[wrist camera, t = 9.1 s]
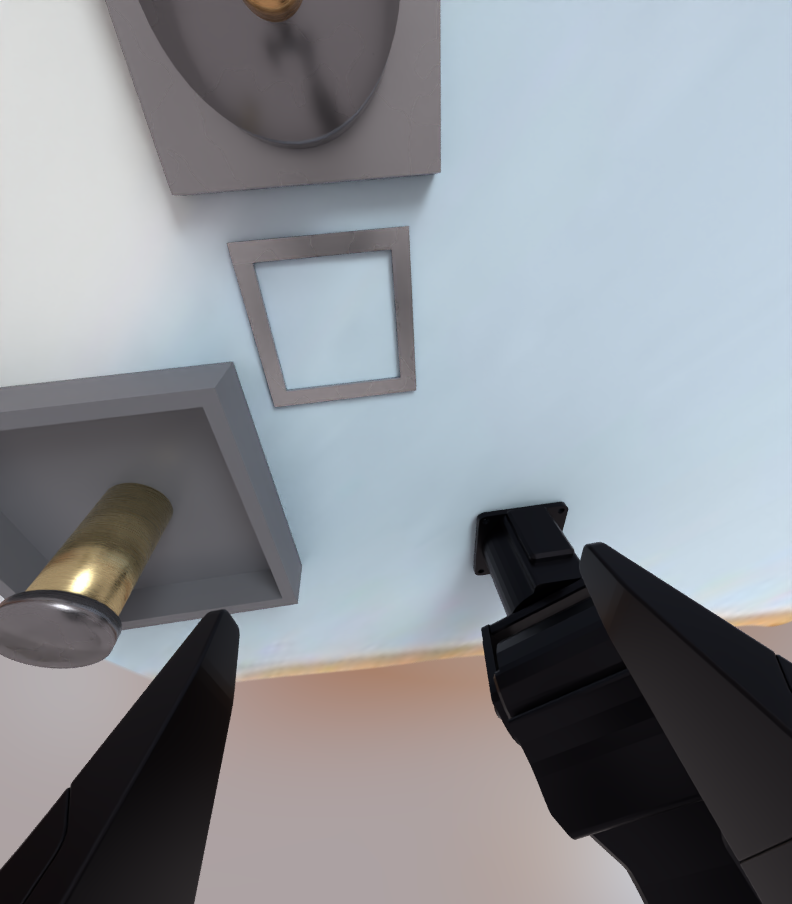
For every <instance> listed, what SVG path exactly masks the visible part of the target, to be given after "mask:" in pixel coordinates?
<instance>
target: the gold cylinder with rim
mask: <svg viewBox="0 0 792 904" xmlns="http://www.w3.org/2000/svg"><path fill="white" fill-rule="evenodd" d="M172 515H173V507H172V505H171V502H170V501H169V500H168V498H167V497H166V496H165V495H164V494H162V493H161V492H160V491H158V490H156V489H154V488H152V487H150V486H147V485H143V484H139V483H122V484H118V485H115V486H113V487H111V488H109V489H108V490H107V491H106V493H105V494H104V495H103V496H102V497H101V499H100V500H99V501H98V502H97V504H96V505H95V506H94V507H93V509H92V510H91V511H90V512H89V513H88V515H87V516H86V517H85V518H84V520H83V521H82V522H81V523H80V525H79V526H78V527H77V528H76V529H75V531H74V532H73V533H72V534H71V536H70V537H69V538H68V539H67V540H66V542H65V543H64V544H63V545H62V547H61V548H60V549H59V550H58V552H57V553H56V554H55V555H54V556H53V558H52V559H51V560H50V561H49V563H48V564H47V565H46V566H45V568H44V569H43V570H42V571H41V572H40V574H39V575H38V576H37V577H36V579H35V580H34V581H33V582H32V584H31V585H30V586H29V587H28V588H27V590H26V591H25V592H21V593H17V594H14V595H12V596H10V597H8V598H6V599H5V600H4V601H2V602H1V603H0V654H1V655H3V656H4V657H7V658H9V659H11V660H14V661H17V662H20V663H24V664H28V665H33V666H39V667H45V668H46V667H47V668H77V667H83V666H87V665H91V664H94V663H97V662H99V661H101V660H103V659H104V658H106V657H107V656H108V655H109V654H110V653H111V651H112V649H113V647H114V645H115V643H116V641H117V639H118V637H119V635H120V633H121V631H122V623H121V620H120V618H119V617H118V616H119V614H120V613H121V611H122V609H123V607H124V605H125V603H126V601H127V599H128V598H129V596H130V594H131V592H132V590H133V588H134V586H135V585H136V583H137V581H138V579H139V577H140V575H141V573H142V572H143V570H144V568H145V566H146V564H147V562H148V560H149V558H150V557H151V555H152V553H153V551H154V549H155V547H156V545H157V544H158V542H159V540H160V538H161V536H162V534H163V532H164V531H165V529H166V527H167V525H168V523H169V521H170V519H171V518H172Z"/></svg>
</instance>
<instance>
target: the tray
mask: <svg viewBox="0 0 792 904" xmlns="http://www.w3.org/2000/svg"><path fill="white" fill-rule="evenodd" d="M122 483H139V484H143V485H147V486H150V487H152V488H154V489H156V490H158V491H160V492H161V493H162V494H164V495H165V496H166V497H167V498H168V500H169V501H170V502H171V505H172V507H173V515H172V518H171V519H170V521H169V523H168V525H167V527H166V529H165V531H164V532H163V534H162V536H161V538H160V540H159V542H158V544H157V545H156V547H155V549H154V551H153V553H152V555H151V557H150V558H149V560H148V562H147V564H146V566H145V568H144V570H143V572H142V573H141V575H140V577H139V579H138V581H137V583H136V585H135V586H134V588H133V590H132V592H131V594H130V596H129V598H128V599H127V601H126V603H125V605H124V607H123V609H122V611H121V613H120V614H119V616H118V617H119V618H120V620H121V623H122V630H126V629H133V628H140V627H146V626H153V625H160V624H166V623H173V622H179V621H186V620H193V619H199V618H203V617H204V616H205V615H206V614H207V613H208V612H210V611H215V610H220V609H226V610H227V611H228V612H229V613H230V614H233V613H239V612H246V611H253V610H259V609H266V608H273V607H279V606H286V605H293V604H298V597H299V588H300V579H301V571H302V564H301V561H300V558H299V555H298V552H297V549H296V546H295V544H294V541H293V538H292V535H291V532H290V529H289V526H288V523H287V520H286V517H285V514H284V511H283V508H282V505H281V502H280V499H279V496H278V493H277V490H276V487H275V484H274V482H273V479H272V476H271V473H270V470H269V467H268V464H267V461H266V458H265V455H264V452H263V449H262V446H261V443H260V440H259V437H258V434H257V431H256V428H255V425H254V422H253V420H252V417H251V414H250V411H249V408H248V405H247V402H246V399H245V396H244V393H243V390H242V387H241V384H240V381H239V378H238V375H237V372H236V369H235V366H234V363H233V362H226V363H217V364H208V365H199V366H190V367H181V368H172V369H163V370H154V371H145V372H136V373H127V374H118V375H109V376H100V377H91V378H82V379H73V380H64V381H55V382H46V383H37V384H28V385H19V386H10V387H1V388H0V595H1V596H2V597H3V598H4V599H6V598H8V597H10V596H12V595H14V594H17V593H21V592H25V591H26V590H27V588H28V587H29V586H30V585H31V584H32V582H33V581H34V580H35V579H36V577H37V576H38V575H39V574H40V572H41V571H42V570H43V569H44V568H45V566H46V565H47V564H48V563H49V561H50V560H51V559H52V558H53V556H54V555H55V554H56V553H57V552H58V550H59V549H60V548H61V547H62V545H63V544H64V543H65V542H66V540H67V539H68V538H69V537H70V536H71V534H72V533H73V532H74V531H75V529H76V528H77V527H78V526H79V525H80V523H81V522H82V521H83V520H84V518H85V517H86V516H87V515H88V513H89V512H90V511H91V510H92V509H93V507H94V506H95V505H96V504H97V502H98V501H99V500H100V499H101V497H102V496H103V495H104V494H105V493H106V491H107V490H108V489H109V488H111V487H113V486H115V485H118V484H122Z"/></svg>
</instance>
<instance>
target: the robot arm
mask: <svg viewBox="0 0 792 904" xmlns="http://www.w3.org/2000/svg"><path fill="white" fill-rule="evenodd" d="M567 512H568V507H567V506H566V505H565V503H564V502H555V503H548V504H541V505H534V506H527V507H520V508H513V509H505V510H498V511H491V512H484V513H481V514H480V515H479V516H478V517H477V527H476V540H475V553H474V567H473V568H474V572H475V574H476V575H486V574H491V577H492V579H493V582H494V584H495V587H496V589H497V592H498V594H499V597H500V599H501V602H502V604H503V607H504V609H505V612H506V614H507V617H505V618H503V619H501V620H499V621H497V622H495V623H494V624H492V625H489V624H488V625H486V626H484V627H482V628H481V631H482V637H483V648H484V655H485V661H486V667H487V674H488V680H489V687H490V693H491V699H492V702H493V705H494V708H495V712H496V714H497V716H498V717H499V718H500V719H502V722H503V723H504V725H505V727H506V728H507V730H508V732H509V733H510V735H511V736H512V738H513V739H514V740H515V741H516V742H517V744H519V745H520V746H521V747H522V749H523V750H524V753H525V755H526V757H527V759H528V761H529V763H530V765H531V767H532V770H533V772H534V774H535V777H536V779H537V781H538V784H539V787H540V789H541V792H542V794H543V797H544V799H545V802H546V804H547V807H548V809H549V811H550V813H551V815H552V816H553V817H554V819H555V820H556V821H557V822H558V823H559V825H560V826H561V827H562V828H563V829H564V830H565V832H566V833H567V834H568V835H569V836H570V837H571V838H572V839H574V840H576V839H579V838H582V837H586V836H589V835H590V836H591V837H592V838H593V839H594V840H595V841H596V842H597V843H598V844H599V845H601V846H602V847H603V848H604V849H605V850H606V851H607V852H608V853H609V854H610V855H611V856H613V857H614V858H615V859H616V860H617V861H618V862H619V863H620V864H622V866H623V867H624V868H625V869H626V870H627V872H628V873H629V875H630V877H631V879H632V881H633V883H634V884H635V886H636V888H637V890H638V892H639V894H640V896H641V898H642V900H643V902H644V904H792V663H791V662H789V661H788V660H786V659H785V658H783V657H781V656H780V655H775V653H774V652H773V651H772V650H770V649H769V648H767V647H766V646H764V645H763V644H761V643H759V642H758V641H756V640H755V639H753V638H752V637H750V636H749V635H747V634H745V633H744V632H742V631H741V630H739V629H737V628H736V627H734V626H733V625H731V624H730V623H728V622H727V621H725V620H724V619H722V618H720V617H719V616H717V615H716V614H714V613H713V612H711V611H709V610H708V609H706V608H705V607H703V606H702V605H700V604H699V603H697V602H695V601H694V600H692V599H691V598H689V597H688V596H686V595H684V594H683V593H681V592H680V591H678V590H677V589H675V588H673V587H672V586H670V585H669V584H667V583H666V582H664V581H663V580H661V579H659V578H658V577H656V576H655V575H653V574H652V573H650V572H648V571H647V570H645V569H644V568H642V567H641V566H639V565H638V564H636V563H634V562H633V561H631V560H630V559H628V558H627V557H625V556H623V555H622V554H620V553H619V552H617V551H616V550H614V549H612V548H611V547H609V546H608V545H606V544H604V543H602V542H596V543H591V544H586V545H585V546H584V548H583V551H582V555H581V560H579V558H578V557H577V555H576V554H575V552H574V549H573V547H572V546H571V544H570V543H569V541H568V540H567V538H566V537H565V535H564V534H563V532H562V531H563V527H564V523H565V519H566V516H567ZM484 519H486V520H484ZM239 637H240V633H239V628H238V625H237V624H236V622H235V621H234V619H233V618H232V616H231V615H230V613H229V612H228V611H227V610H226V609H220V610H215V611H210V612H208V613H207V614H206V615H205V616H204V617H203V618H202V620H201V621H200V622H199V623H198V625H197V626H196V627H195V628H194V630H193V631H192V632H191V633H190V635H189V636H188V637H187V638H186V640H185V641H184V642H183V643H182V645H181V646H180V647H179V648H178V650H177V651H176V652H175V653H174V655H173V656H172V657H171V659H170V660H169V661H168V662H167V664H166V665H165V666H164V667H163V669H162V670H161V671H160V672H159V674H158V675H157V676H156V677H155V679H154V680H153V681H152V682H151V684H150V685H149V686H148V688H147V689H146V690H145V691H144V692H143V694H142V695H141V696H140V697H139V699H138V700H137V701H136V703H135V704H134V705H133V706H132V708H131V709H130V710H129V711H128V713H127V714H126V715H125V716H124V718H123V719H122V720H121V721H120V723H119V724H118V725H117V727H116V728H115V729H114V730H113V732H112V733H111V734H110V735H109V736H108V738H107V739H106V740H105V741H104V743H103V744H102V745H101V746H100V748H99V749H98V750H97V751H96V753H95V754H94V755H93V757H92V758H91V759H90V760H89V762H88V763H87V764H86V765H85V767H84V768H83V769H82V770H81V772H80V773H79V774H78V775H77V777H76V778H75V779H74V780H73V782H72V783H71V787H70V788H67V789H66V790H65V791H64V793H63V794H62V795H61V797H60V798H59V799H58V800H57V801H56V803H55V804H54V805H53V807H52V808H51V809H50V810H49V812H48V813H47V814H46V815H45V816H44V818H43V819H42V820H41V822H40V823H39V824H38V825H37V826H36V827H35V829H34V830H33V831H32V832H31V834H30V835H29V836H28V837H27V839H26V840H25V841H24V842H23V843H22V845H21V846H20V847H19V848H18V849H17V851H16V852H15V853H14V854H13V855H12V856H11V858H10V859H9V860H8V861H7V862H6V863H5V865H4V866H3V867H2V868H1V869H0V904H194V901H195V896H196V891H197V886H198V881H199V876H200V871H201V865H202V860H203V855H204V850H205V845H206V840H207V835H208V830H209V824H210V819H211V814H212V809H213V804H214V799H215V794H216V789H217V784H218V779H219V773H220V768H221V763H222V758H223V753H224V747H225V742H226V737H227V732H228V727H229V722H230V717H231V711H232V706H233V699H234V691H235V680H236V669H237V659H238V648H239Z"/></svg>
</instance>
